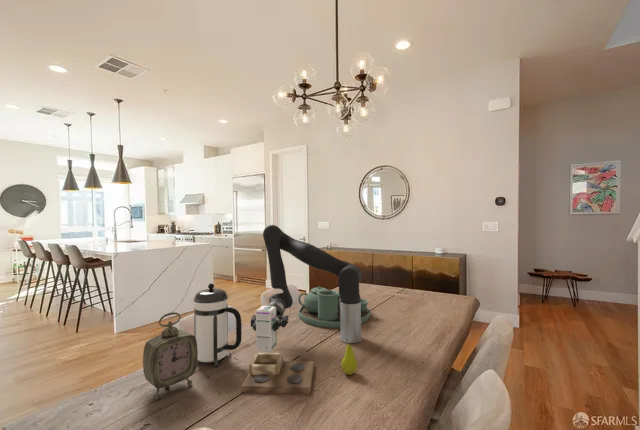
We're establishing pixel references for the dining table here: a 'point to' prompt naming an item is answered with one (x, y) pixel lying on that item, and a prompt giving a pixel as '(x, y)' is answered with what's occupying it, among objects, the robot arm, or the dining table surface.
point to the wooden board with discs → (278, 375)
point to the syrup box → (265, 328)
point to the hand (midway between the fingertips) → (264, 328)
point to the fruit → (349, 361)
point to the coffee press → (213, 325)
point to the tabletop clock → (170, 356)
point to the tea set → (325, 308)
